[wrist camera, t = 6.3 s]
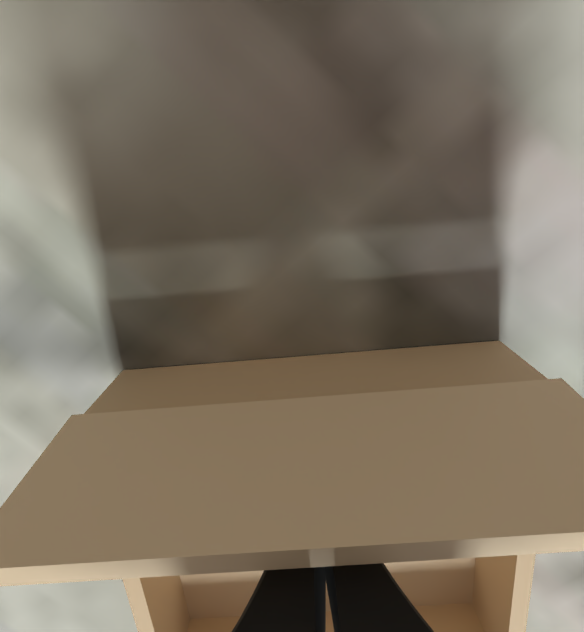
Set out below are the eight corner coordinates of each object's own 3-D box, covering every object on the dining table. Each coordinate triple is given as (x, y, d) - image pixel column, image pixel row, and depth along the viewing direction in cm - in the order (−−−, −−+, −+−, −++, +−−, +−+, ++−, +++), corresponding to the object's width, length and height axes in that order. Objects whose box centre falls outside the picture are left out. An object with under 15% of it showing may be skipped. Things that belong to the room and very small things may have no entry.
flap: (557, 393, 11) (561, 377, 11) (709, 543, 7) (719, 523, 7) (77, 428, 12) (71, 415, 12) (-37, 588, 8) (-49, 571, 7)
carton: (499, 340, 15) (557, 387, 12) (479, 598, 19) (518, 687, 16) (123, 370, 15) (76, 422, 12) (182, 615, 20) (159, 704, 16)
